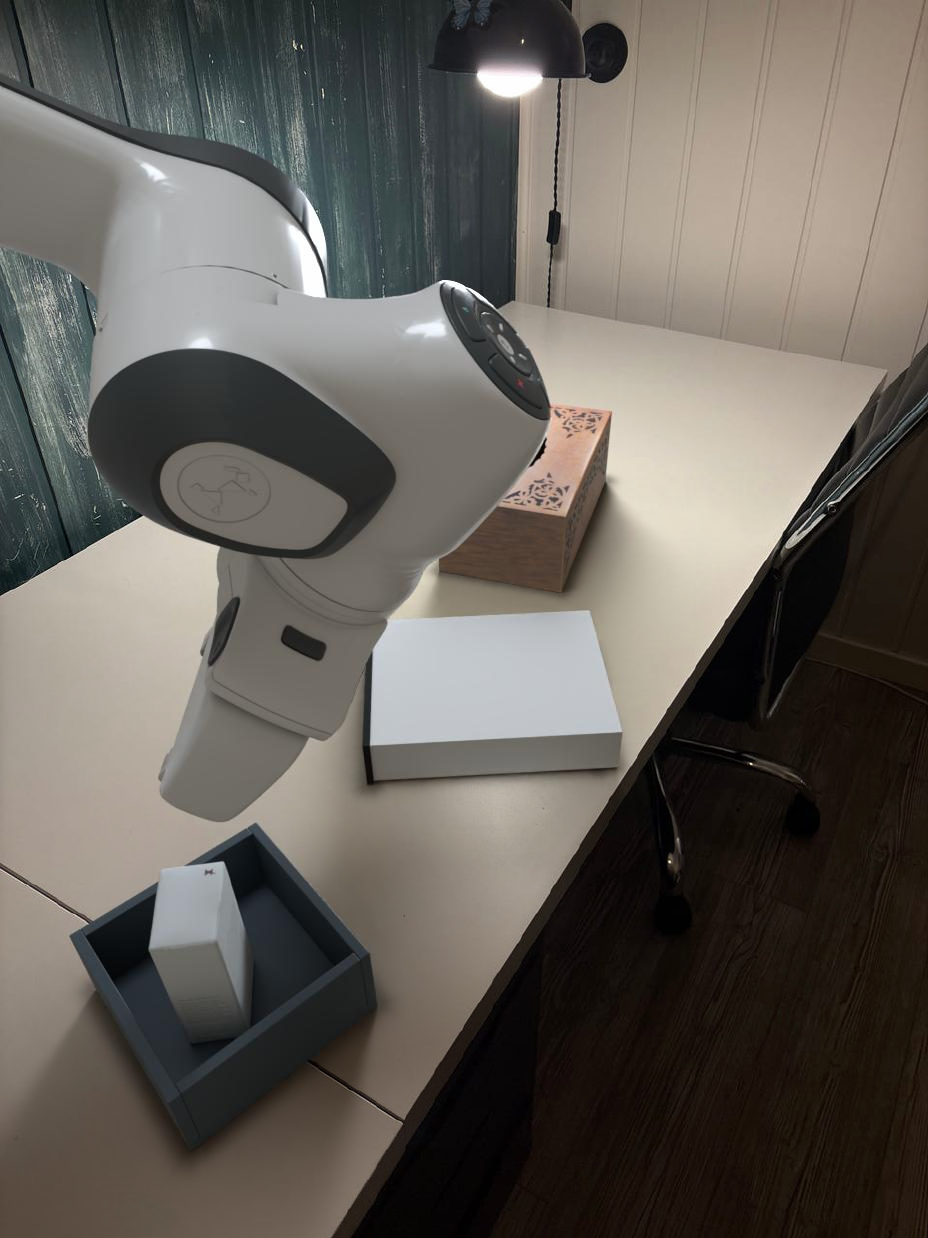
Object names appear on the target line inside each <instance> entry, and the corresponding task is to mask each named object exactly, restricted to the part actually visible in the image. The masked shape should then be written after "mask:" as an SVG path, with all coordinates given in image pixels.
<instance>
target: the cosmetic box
mask: <svg viewBox="0 0 928 1238" xmlns="http://www.w3.org/2000/svg"><path fill="white" fill-rule="evenodd" d="M157 882H158V887H157V894H156V901H155V908H154V916H153V924H152V930H151V937H150V944H149V952H150V954H151V956H152V959H153V961H154V963H155V965H156V968H157V970H158V972H159V975H160V977H161V979H162V982H163V984H164V986H165V989H166V991H167V993H168V995H169V998H170V1000H171V1002H172V1005H173V1007H174V1009H175V1011H176V1014H177V1016H178V1018H179V1020H180V1023H181V1025H182V1027H183V1030H184V1032H185V1034H186V1036H187V1039H188V1041H189V1043H192V1044H195V1043H202V1042H209V1041H216V1040H223V1039H231V1038H238V1037H239V1036H241V1035H242V1034H244V1033H245V1032H246V1031H248V1030H249V1029H250V1022H251V1004H252V988H253V970H254V956H253V953H252V950H251V947H250V944H249V940H248V937H247V934H246V930H245V927H244V925H243V921H242V918H241V915H240V911H239V908H238V905H237V901H236V898H235V895H234V892H233V889H232V886H231V882H230V878H229V875H228V872H227V869H226V866H225V864H224V862H215V863H207V864H199V865H190V866H185V865H182V866H173V867H168V868H167V867H166V868H162V869H160V870H159V876H158V881H157Z"/></svg>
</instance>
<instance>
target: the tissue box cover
mask: <svg viewBox="0 0 928 1238" xmlns="http://www.w3.org/2000/svg"><path fill="white" fill-rule="evenodd" d="M550 405H551V409H550V412H551V424H550V427H549V430H548V433H547V435H546V437H545V440H544V442H543V444H542V446H541V448H540V449H539V451H538V453H537V455H536V456H535V458H534V459H533V461H532V462H531V464H530V465H529V467H528V468H527V470H526V471H525V472H524V474H523V475H522V476H521V478H520V479H519V480H518V482H517V483H516V484H515V486H514V487H513V488H512V489H511V491H510V492H509V493H508V494H507V495H506V497H505V498H504V499H503V500H502V501H501V503H500V504H499V505H498V506H497V507H496V508H495V509H494V510H493V512H492V513H491V514H490V515H489V516H488V517H487V518H486V519H485V520H484V521H483V522H482V523H481V524H480V526H479V527H478V528H477V529H476V530H475V531H474V532H473V533H472V534H471V535H470V536H469V537H468V538H467V539H466V540H465V541H464V542H463V543H462V544H461V545H460V546H459V547H458V548H456V549H455V550H454V551H452V552H451V553H449V554H447V555H446V556H444V557H442V558H440V559H438V571H439V572H443V573H449V574H453V575H459V576H465V577H471V578H476V579H482V580H487V581H493V582H498V583H503V584H504V583H505V584H510V585H515V586H522V587H527V588H533V589H538V590H544V591H548V592H555V593H562V591H563V589H564V586H565V583H566V582H567V579H568V576H569V574H570V571H571V568H572V566H573V564H574V561H575V558H576V556H577V553H578V551H579V549H580V546H581V544H582V541H583V539H584V536H585V533H586V531H587V528H588V525H589V524H590V521H591V518H592V516H593V514H594V511H595V509H596V505H597V503H598V501H599V498H600V496H601V493H602V491H603V488H604V486H605V483H606V480H607V469H608V468H607V467H608V457H609V447H610V437H611V426H612V425H611V424H612V416H613V415H612V414H613V411H612V410H606V409H605V410H603V409H596V408H589V407H581V406H573V405H566V404H557V403H550Z"/></svg>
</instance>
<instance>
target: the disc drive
mask: <svg viewBox="0 0 928 1238" xmlns="http://www.w3.org/2000/svg"><path fill="white" fill-rule="evenodd" d="M592 617H593V616H592V614H591V610H590V609H589V610H588V609H587V610H568V611H567V610H565V611H546V612H525V613H522V612H521V613H504V614H503V613H502V614H484V615H464V616H463V615H462V616H443V617H442V616H440V617H421V618H419V617H418V618H402V619H401V618H400V619H387V621H388V625H387V628H386V629H385V631H384V633H383V634H382V636H381V637H380V639H379V641H378V642H377V644H376V645H375V647H374V649H373V651H372V652H371V654H370V656H369V658H368V660H367V662H366V665H365V668H364V689H363V690H364V691H363V713H362V714H363V715H362V716H363V717H362V720H363V721H362V740H361V741H362V743H361V747H362V754H363V755H362V756H363V763H364V771H365V778H366V785H375V781H389V780H391V781H392V780H407V779H410V780H411V779H424V778H427V779H429V778H443V777H444V778H445V777H463V776H465V777H466V776H481V775H483V776H484V775H498V774H500V775H501V774H518V773H537V772H538V773H539V772H555V771H571V770H572V771H573V770H574V771H575V770H591V769H611V768H619V763H620V756H621V746H622V741H623V729H622V724H621V721H620V718H619V714H618V710H617V706H616V702H615V698H614V695H613V692H612V688H611V684H610V680H609V676H608V673H607V669H606V666H605V661H604V658H603V654H602V651H601V647H600V643H599V640H598V636H597V632H596V628H595V625H594V621H593V618H592Z"/></svg>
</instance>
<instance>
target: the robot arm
mask: <svg viewBox="0 0 928 1238" xmlns="http://www.w3.org/2000/svg"><path fill="white" fill-rule="evenodd" d="M0 248H2V249H6V250H9V251H12V252H15V253H18V254H20V255H24V256H27V257H30V258H33V259H36V260H39V261H42V262H45V263H48V264H51V265H53V266H56V267H57V268H58V267H59V268H60V269H63V270H64V271H66V272H67V273H69V274H71V275H72V276H74V278H76V279H77V280H79V281H80V282H81V283H82V284H83V285H84V286H85V287H86V288H87V289H88V290H89V292H90V293H91V294H92V295H93V296H94V298H95V299H96V300H97V312H96V313H97V314H96V328H95V335H94V338H93V342H92V351H91V363H90V364H91V365H90V376H89V377H90V378H89V399H88V420H87V443H88V448H89V452H90V455H91V458H92V460H93V463H94V465H95V468H96V469H97V471H98V473H99V474H100V476H101V477H102V479H103V480H104V482H105V483H106V484H107V485H108V487H110V489H111V490H112V491H113V492H114V493H115V494H116V496H118V497H119V498H120V499H121V500H122V501H123V502H124V503H125V504H126V505H128V506H129V507H130V508H132V509H133V510H135V511H136V512H137V513H139V514H140V515H141V516H143V517H145V518H147V519H148V520H150V521H151V522H152V523H153V522H154V523H155V524H157V525H158V526H160V527H163V528H166V529H167V530H170V531H172V532H174V533H177V534H179V535H182V536H184V537H188V538H191V539H194V540H197V541H200V542H203V543H206V544H210V545H213V546H216V547H219V548H218V552H217V557H216V576H217V580H218V587H217V593H216V594H217V595H216V615H215V616H214V617H215V618H214V621H213V624H212V626H211V627H210V628H209V630H207V632H206V634H204V637H203V640H202V643H201V647H200V651H199V655H200V656H201V659H200V663H199V666H198V670H197V673H196V675H195V678H194V681H193V685H192V688H191V690H190V694H189V696H188V700H187V703H186V706H185V709H184V712H183V715H182V718H181V721H180V725H179V727H178V731H177V734H176V737H175V739H174V743H173V746H172V747H171V749H170V750H169V752H168V753H167V752H166V754H165V756H164V758H163V762H162V764H161V767H160V769H159V773H158V776H157V778H158V779H157V780H158V781H159V782H160V784H159V788H158V789H159V795H160V797H161V798H162V799H163V800H164V801H165V802H166V803H167V804H169V805H170V806H172V807H174V808H176V809H178V810H180V811H182V812H185V813H187V814H189V815H192V816H194V817H197V818H200V819H203V820H206V821H210V822H214V823H225V822H226V823H227V822H229V821H231V820H233V819H235V818H236V817H238V816H240V814H242V813H243V812H244V811H245V810H246V809H248V808H249V807H250V806H251V805H252V804H253V803H254V802H256V801H257V800H258V799H259V798H260V797H262V796H263V794H265V793H266V792H267V790H269V789H270V788H271V787H272V786H273V785H274V784H275V783H277V781H278V780H280V779H281V778H282V777H283V776H284V775H285V773H286V772H288V770H289V769H290V768H291V767H292V766H293V764H294V763H296V761H297V759H298V758H299V756H300V755H301V754H302V752H303V750H304V749H305V747H306V745H307V744H308V742H309V739H310V738H311V739H314V740H316V741H320V742H325V741H327V740H329V739H330V738H331V737H332V736H333V735H335V734H336V732H337V731H339V730H340V728H341V727H342V726H343V725H344V723H345V720H346V718H347V716H348V714H349V711H350V707H351V705H352V703H353V701H354V697H355V694H356V691H357V688H358V686H359V683H360V682H361V678H362V676H363V673H364V672H365V665H366V662H367V660H368V658H369V656H370V654H371V652H372V651H373V649H374V647H375V645H376V644H377V642H378V641H379V639H380V637H381V636H382V634H383V633H384V631H385V629H386V628H387V625H388V621H387V620H389V619H390V618H391V617H392V615H394V613H395V612H397V610H398V609H399V608H400V607H401V606H402V605H403V604H404V603H405V602H406V601H407V600H408V599H409V598H410V597H411V596H412V594H413V593H414V592H415V590H416V589H417V587H418V585H419V584H420V581H421V579H422V577H423V574H424V572H425V571H426V569H427V568H428V567H429V566H430V565H431V564H433V563H434V562H435V561H438V560H439V559H440V558H442V557H444V556H446V555H447V554H449V553H451V552H452V551H454V550H455V549H456V548H458V547H459V546H460V545H461V544H462V543H463V542H464V541H465V540H466V539H467V538H468V537H469V536H470V535H471V534H472V533H473V532H474V531H475V530H476V529H477V528H478V527H479V526H480V524H481V523H482V522H483V521H484V520H485V519H486V518H487V517H488V516H489V515H490V514H491V513H492V512H493V510H494V509H495V508H496V507H497V506H498V505H499V504H500V503H501V501H502V500H503V499H504V498H505V497H506V495H507V494H508V493H509V492H510V491H511V489H512V488H513V487H514V486H515V484H516V483H517V482H518V480H519V479H520V478H521V476H522V475H523V474H524V472H525V471H526V470H527V468H528V467H529V465H530V464H531V462H532V461H533V459H534V458H535V456H536V455H537V453H538V451H539V449H540V448H541V446H542V444H543V442H544V440H545V437H546V435H547V433H548V430H549V427H550V424H551V412H550V409H551V405H550V404H551V401H550V397H549V395H548V391H547V387H546V384H545V381H544V379H543V376H542V374H541V371H540V369H539V367H538V364H537V362H536V360H535V358H534V355H533V353H532V351H531V350H530V348H529V347H528V346H527V345H526V344H525V342H524V341H523V340H522V338H521V336H519V334H518V331H517V330H516V328H515V327H514V326H513V325H512V324H511V322H509V320H508V319H507V318H506V317H505V316H504V315H503V314H502V313H501V312H500V311H499V310H498V309H497V308H496V307H495V306H494V305H493V304H492V303H490V302H489V301H488V300H487V299H486V298H485V297H483V296H482V295H481V294H480V293H478V292H477V291H475V290H473V289H472V288H469V287H466V286H465V285H463V284H461V283H459V282H456V281H452V280H440V281H437V282H436V283H432V284H431V285H429V286H427V287H425V288H423V289H421V290H418V291H416V292H411V293H407V294H403V295H395V296H386V297H377V298H337V297H329V285H328V284H329V283H328V282H329V280H328V279H329V278H328V251H327V244H326V239H325V235H324V230H323V227H322V224H321V223H320V220H319V217H318V215H317V213H316V211H315V209H314V207H313V206H312V204H311V202H310V200H308V198H307V196H306V195H305V193H304V192H303V191H302V190H301V189H300V188H299V186H298V185H297V184H296V183H295V181H293V180H292V179H291V178H290V177H289V176H288V175H287V174H286V173H284V171H282V170H281V169H280V168H278V167H277V166H276V165H274V164H273V163H271V162H269V160H267V159H265V158H263V157H262V156H259V155H258V154H256V153H254V152H252V151H249V150H247V149H244V148H241V147H239V146H236V145H233V144H230V143H227V142H222V141H218V140H213V139H208V138H203V137H195V136H186V135H180V134H172V133H164V132H157V131H151V130H146V129H140V128H136V127H132V126H127V125H125V124H121V123H118V122H114V121H112V120H109V119H106V118H103V117H101V116H99V115H96V114H93V113H91V112H88V111H86V110H84V109H81V108H79V107H77V106H75V105H72V104H70V103H67V102H66V101H63V100H61V99H59V98H56V97H54V96H52V95H49V94H48V93H45V92H43V91H41V90H38V89H37V88H34V87H32V86H30V85H27V84H26V83H23V82H21V81H19V80H16V79H15V78H12V77H10V76H7V75H5V74H2V73H1V72H0Z"/></svg>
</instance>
